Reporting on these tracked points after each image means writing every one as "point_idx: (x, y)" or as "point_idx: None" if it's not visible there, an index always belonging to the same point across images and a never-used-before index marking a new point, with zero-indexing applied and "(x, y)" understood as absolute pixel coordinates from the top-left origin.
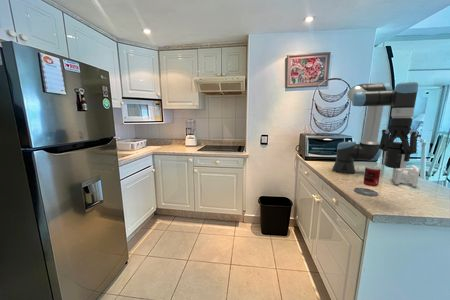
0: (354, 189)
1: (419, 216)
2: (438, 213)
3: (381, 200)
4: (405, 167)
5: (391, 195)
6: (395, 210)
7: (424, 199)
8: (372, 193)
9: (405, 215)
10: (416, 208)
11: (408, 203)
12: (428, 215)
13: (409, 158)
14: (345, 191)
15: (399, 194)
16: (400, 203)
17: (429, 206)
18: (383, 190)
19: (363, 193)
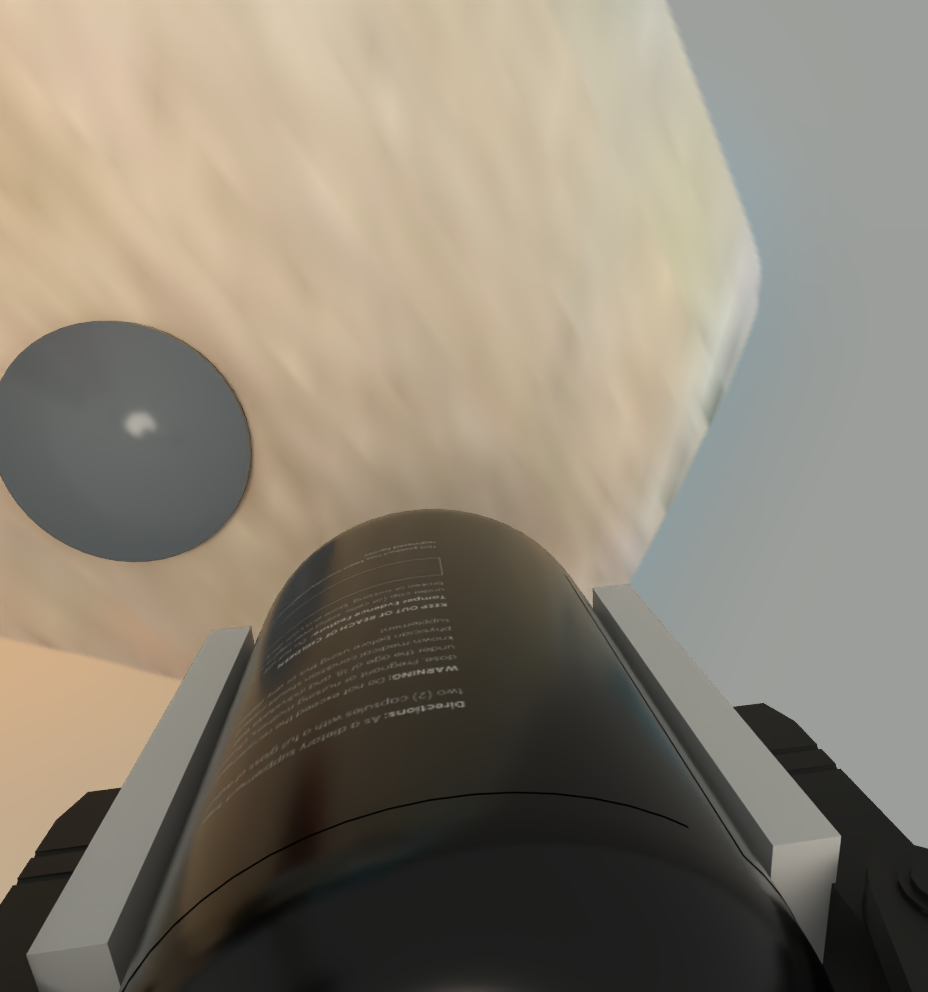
0: (55, 533)
1: (683, 470)
2: (702, 229)
3: (360, 479)
4: (631, 599)
5: (256, 217)
6: (556, 555)
7: None
8: (199, 431)
9: (639, 562)
10: (578, 321)
11: (475, 268)
12: (696, 373)
13: (830, 763)
14: (86, 646)
15: (239, 63)
16: (457, 356)
17: (582, 117)
18: (81, 136)
19: (188, 533)
